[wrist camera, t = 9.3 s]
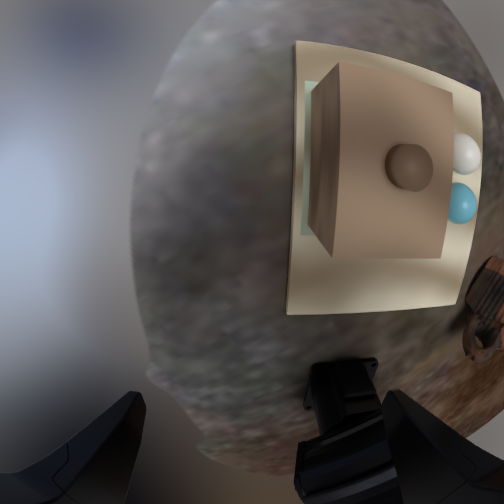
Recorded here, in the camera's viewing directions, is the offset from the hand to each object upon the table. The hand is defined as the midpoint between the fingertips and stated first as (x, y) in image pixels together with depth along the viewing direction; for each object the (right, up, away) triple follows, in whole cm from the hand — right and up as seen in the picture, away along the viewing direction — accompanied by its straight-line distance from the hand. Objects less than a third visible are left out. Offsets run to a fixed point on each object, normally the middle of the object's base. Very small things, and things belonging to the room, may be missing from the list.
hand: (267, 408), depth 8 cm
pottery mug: (+24, 0, +13) cm, 27 cm away
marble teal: (+14, +9, +8) cm, 19 cm away
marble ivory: (+14, +13, +7) cm, 20 cm away
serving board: (+10, +10, +9) cm, 17 cm away
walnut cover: (+6, +11, +8) cm, 15 cm away
